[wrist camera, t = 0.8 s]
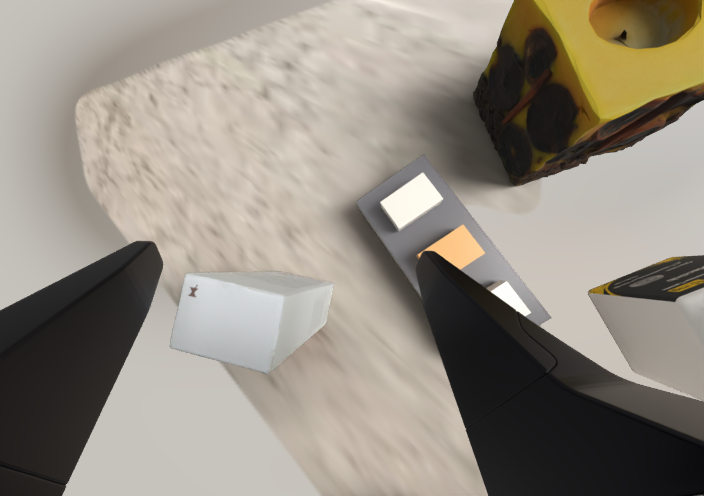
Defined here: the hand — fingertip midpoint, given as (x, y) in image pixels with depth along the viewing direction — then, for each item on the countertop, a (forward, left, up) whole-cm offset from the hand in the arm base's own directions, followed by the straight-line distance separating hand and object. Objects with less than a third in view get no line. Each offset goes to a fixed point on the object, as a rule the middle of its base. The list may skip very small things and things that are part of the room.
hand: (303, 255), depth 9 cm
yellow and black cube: (+2, -22, -16) cm, 27 cm away
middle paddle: (-3, -7, -13) cm, 15 cm away
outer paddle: (+2, -7, -13) cm, 14 cm away
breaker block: (-3, -7, -16) cm, 17 cm away
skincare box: (+1, +6, -16) cm, 17 cm away
